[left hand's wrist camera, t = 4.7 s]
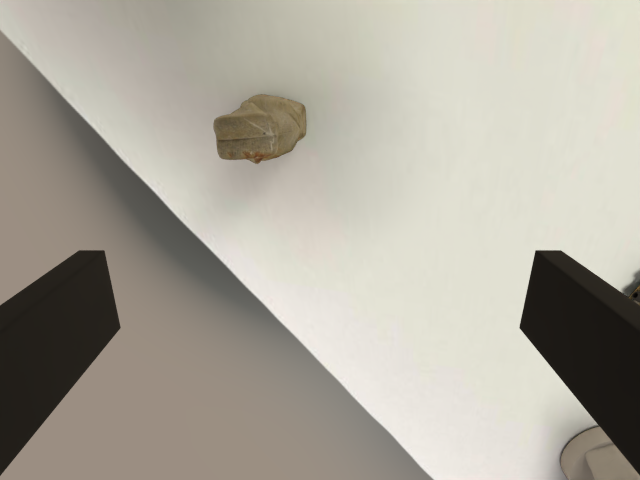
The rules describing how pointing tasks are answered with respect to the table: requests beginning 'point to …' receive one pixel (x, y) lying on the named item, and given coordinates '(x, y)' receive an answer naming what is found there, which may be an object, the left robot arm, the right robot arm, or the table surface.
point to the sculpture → (260, 129)
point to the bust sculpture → (595, 458)
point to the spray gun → (636, 295)
